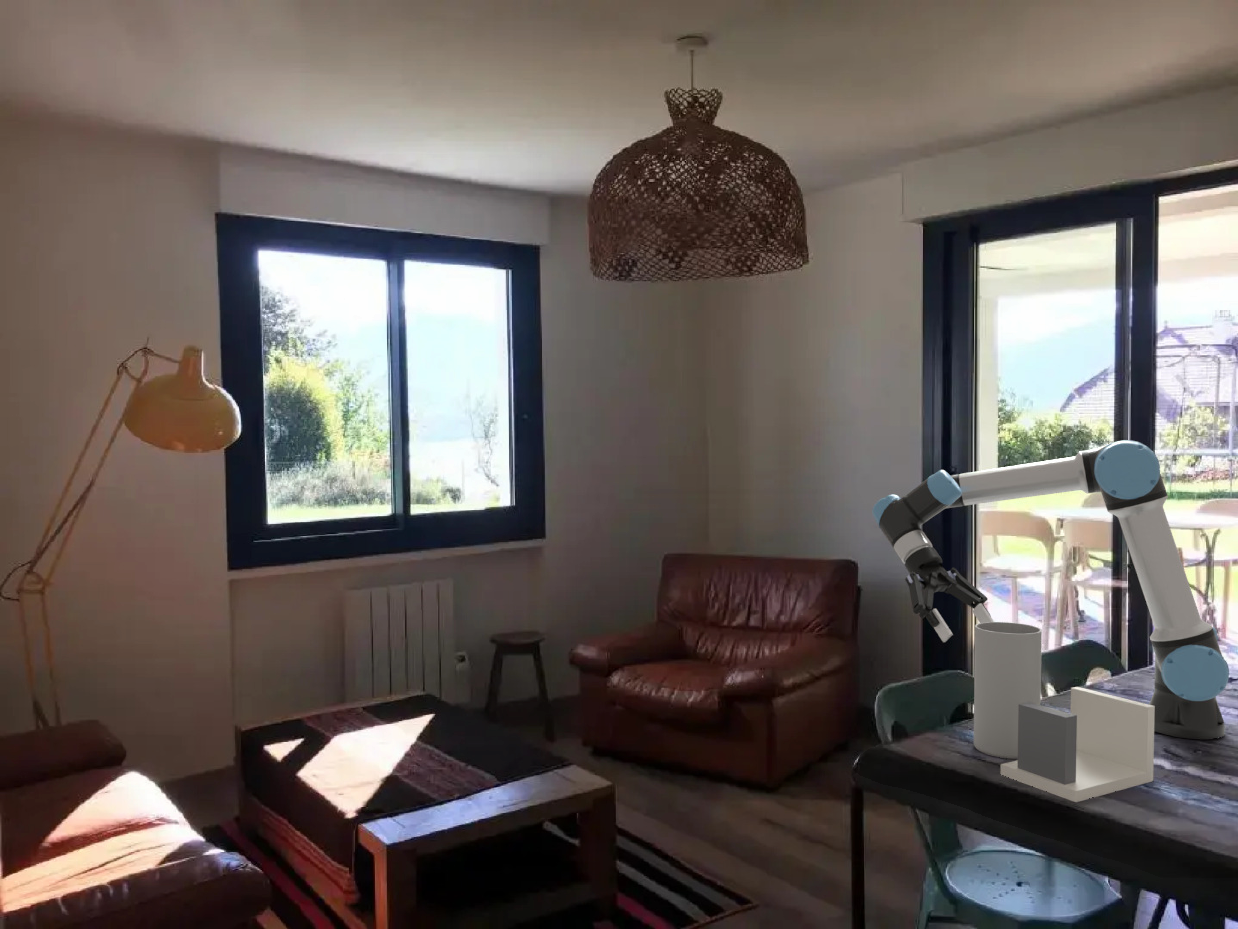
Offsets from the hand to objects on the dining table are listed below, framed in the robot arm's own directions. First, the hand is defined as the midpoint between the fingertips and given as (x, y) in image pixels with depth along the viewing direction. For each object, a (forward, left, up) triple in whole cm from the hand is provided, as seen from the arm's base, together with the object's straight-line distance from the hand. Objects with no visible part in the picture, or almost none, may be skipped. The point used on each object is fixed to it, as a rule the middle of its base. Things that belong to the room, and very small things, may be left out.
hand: (971, 635), depth 209 cm
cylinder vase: (-5, +8, -22) cm, 24 cm away
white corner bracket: (-12, +24, -22) cm, 34 cm away
